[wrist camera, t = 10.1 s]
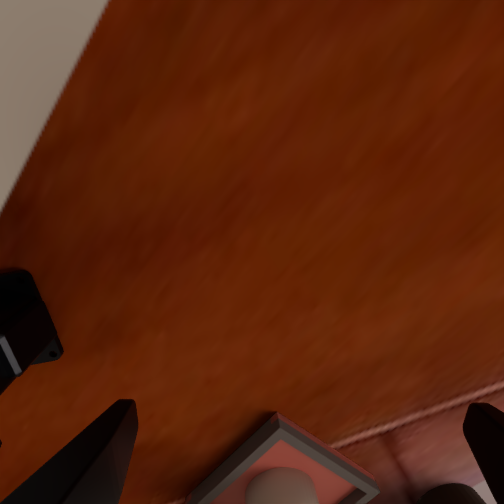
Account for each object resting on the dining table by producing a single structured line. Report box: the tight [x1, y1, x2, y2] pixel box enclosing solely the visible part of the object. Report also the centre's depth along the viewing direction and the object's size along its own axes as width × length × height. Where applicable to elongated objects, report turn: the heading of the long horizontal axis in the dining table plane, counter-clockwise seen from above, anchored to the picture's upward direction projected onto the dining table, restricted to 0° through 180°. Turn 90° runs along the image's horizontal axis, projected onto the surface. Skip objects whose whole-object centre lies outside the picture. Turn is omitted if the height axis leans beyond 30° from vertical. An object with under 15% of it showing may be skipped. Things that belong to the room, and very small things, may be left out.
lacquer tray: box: [185, 412, 380, 504], centre depth 27 cm, size 12×12×2 cm
